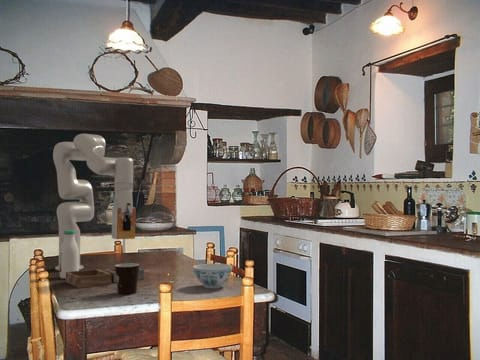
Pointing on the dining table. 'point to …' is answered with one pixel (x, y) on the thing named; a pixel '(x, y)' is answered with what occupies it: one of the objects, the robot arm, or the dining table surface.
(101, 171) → the robot arm
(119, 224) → the small box
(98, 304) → the dining table surface
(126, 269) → the coffee mug
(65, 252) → the milk bottle
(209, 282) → the chinaware
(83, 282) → the walnut trough
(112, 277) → the frame
